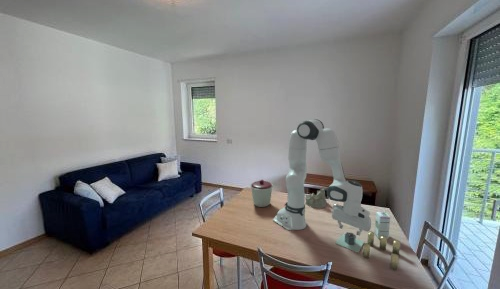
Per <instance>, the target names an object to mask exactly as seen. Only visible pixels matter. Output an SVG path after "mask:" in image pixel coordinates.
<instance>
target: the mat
mask: <svg viewBox="0 0 500 289" xmlns="http://www.w3.org/2000/svg"><path fill="white" fill-rule="evenodd" d="M345 234H346V233H342V234H341V236H339V238H338V239H337V241H335V245H338V246H341V247H343V248H345V249H348V250H350V251H352V252H355V253H357V254H358V253H359V252H360V250H361V249H362V247H363V246H364V243H365V241H364V240H361V239H359V238H356V241H355V244H354V245H348V244H347V243H346V242H345Z"/></svg>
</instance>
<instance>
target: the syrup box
mask: <svg viewBox="0 0 500 289" xmlns="http://www.w3.org/2000/svg"><path fill="white" fill-rule="evenodd" d="M390 224H391V216H390V214H389V213H387V212H386V211H376V212H375V224H374V225H375V226H374V235H375V236H376V237H377V238H378V239H380V236H386V237H387V240H389V238H390V237H389V235H390Z"/></svg>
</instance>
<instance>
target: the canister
mask: <svg viewBox="0 0 500 289" xmlns="http://www.w3.org/2000/svg"><path fill="white" fill-rule="evenodd" d="M273 186H274V184H273V183H272V182H270V181H267V180H264V179H259V180H257V181H254V182H252V183H251V184H250V188H251V195H252V201H253V204H254V205H255V206H256V207H259V208H266V207H268V206H269V205H270V203H271V198H272V190H273Z"/></svg>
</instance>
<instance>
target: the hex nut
mask: <svg viewBox="0 0 500 289" xmlns="http://www.w3.org/2000/svg"><path fill="white" fill-rule="evenodd" d="M344 234H345V242H346V243H347V244H348V245H354V244H355V241H356V239H357V235H356V234H354V233H353V232H346V233H344Z"/></svg>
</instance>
